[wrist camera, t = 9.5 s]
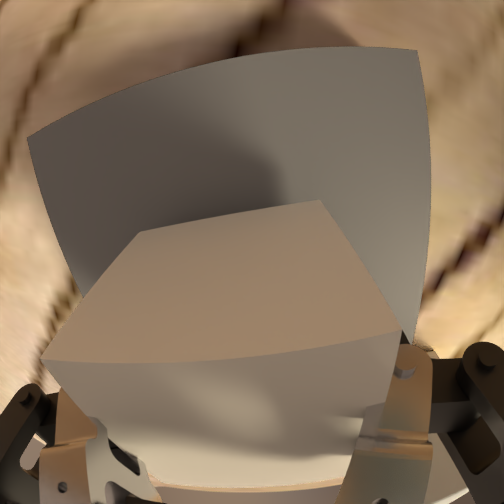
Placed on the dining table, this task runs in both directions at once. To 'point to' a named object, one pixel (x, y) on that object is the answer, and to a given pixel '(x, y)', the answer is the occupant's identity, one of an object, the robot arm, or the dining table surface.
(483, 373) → the robot arm
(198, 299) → the white cube
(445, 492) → the supplement box
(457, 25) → the dining table surface
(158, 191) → the plinth
